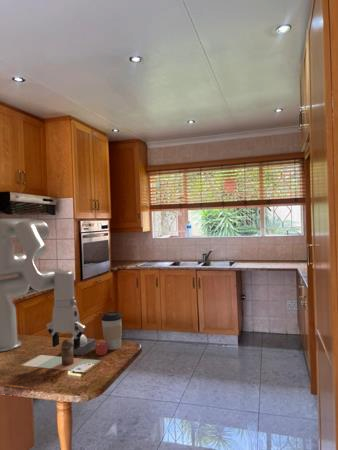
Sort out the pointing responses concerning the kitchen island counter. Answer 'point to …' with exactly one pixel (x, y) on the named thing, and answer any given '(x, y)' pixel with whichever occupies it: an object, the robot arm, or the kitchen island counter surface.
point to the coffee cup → (112, 329)
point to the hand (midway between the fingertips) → (66, 346)
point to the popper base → (84, 347)
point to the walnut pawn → (67, 353)
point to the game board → (58, 362)
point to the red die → (101, 348)
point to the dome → (82, 340)
